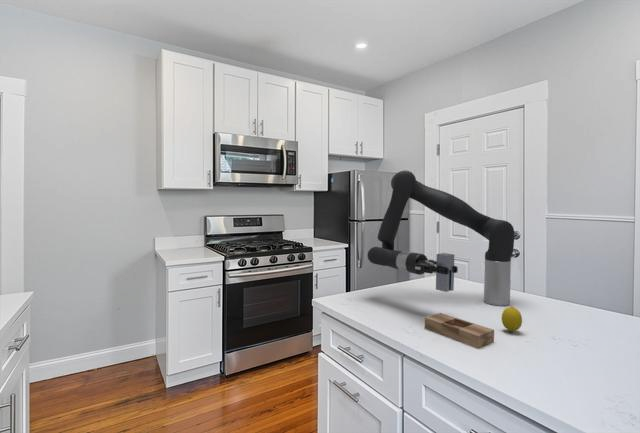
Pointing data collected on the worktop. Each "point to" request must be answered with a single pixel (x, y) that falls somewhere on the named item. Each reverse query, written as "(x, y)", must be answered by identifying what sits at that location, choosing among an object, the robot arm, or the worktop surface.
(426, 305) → the worktop surface
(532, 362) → the worktop surface
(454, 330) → the wooden slotted base
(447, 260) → the block
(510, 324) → the lemon
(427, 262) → the robot arm
